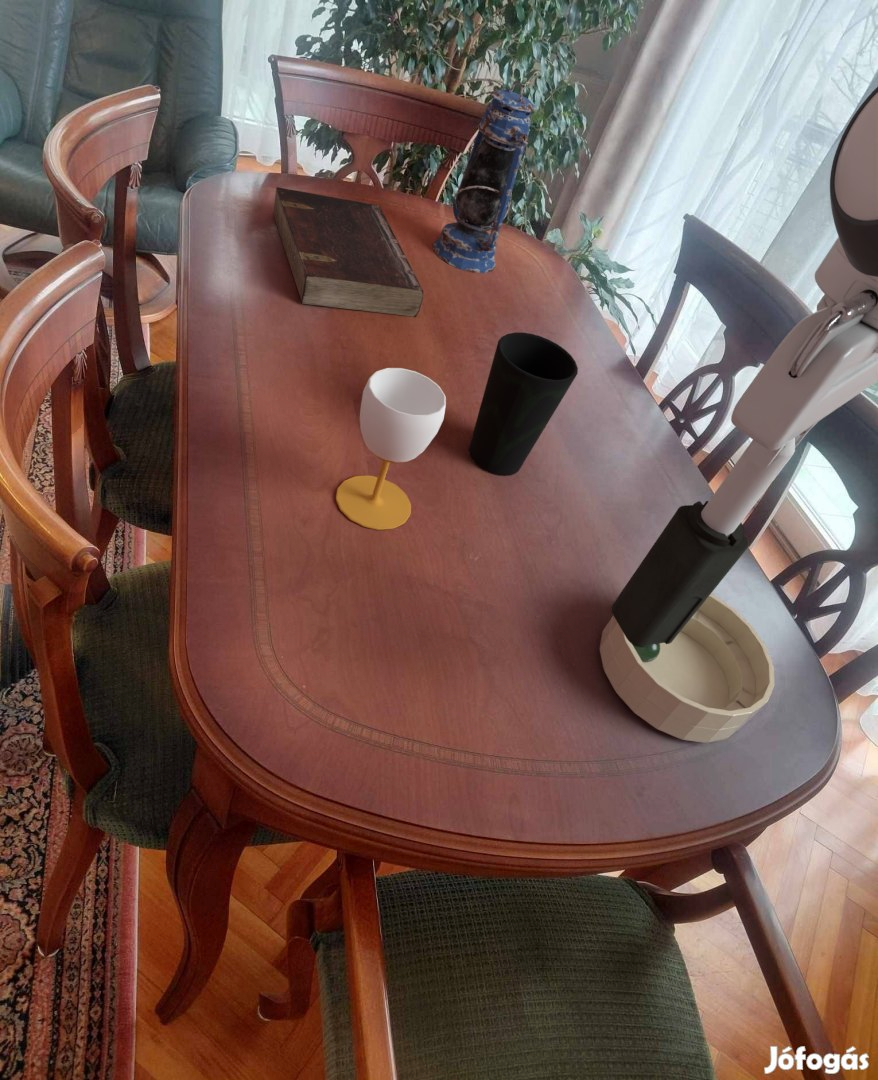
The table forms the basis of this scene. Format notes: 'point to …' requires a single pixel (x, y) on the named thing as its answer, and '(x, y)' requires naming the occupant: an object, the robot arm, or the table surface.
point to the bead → (648, 652)
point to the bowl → (694, 675)
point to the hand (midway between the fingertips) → (769, 452)
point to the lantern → (487, 183)
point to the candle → (692, 556)
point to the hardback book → (345, 254)
